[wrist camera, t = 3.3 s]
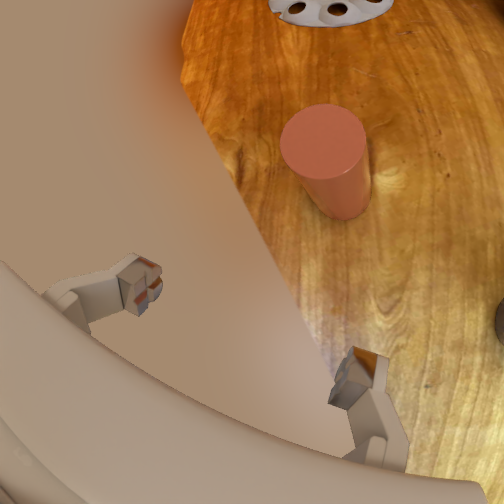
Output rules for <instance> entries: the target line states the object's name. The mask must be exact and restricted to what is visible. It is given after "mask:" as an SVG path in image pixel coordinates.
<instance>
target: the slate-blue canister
mask: <svg viewBox="0 0 504 504" xmlns="http://www.w3.org/2000/svg"><path fill="white" fill-rule="evenodd" d="M495 327H496V333H497V336H498V339H499V341H500V342H501V344H502V345H503V346H504V298H503V300H502V301H501V303H500V305H499V307H498V310H497V314H496V320H495Z"/></svg>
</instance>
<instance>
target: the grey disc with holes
mask: <svg viewBox="0 0 504 504" xmlns="http://www.w3.org/2000/svg"><path fill="white" fill-rule="evenodd" d="M393 2H394V0H382V2H380V3H371V2H368V1H366V0H269V1H268V4H269V7H270V9H271V10H272V12H273V13H276V12H280V13H282V14H281V16H279V18H280V19H282V20H283V21H285V22H288V23H291V24H294V25H299V26H308V27H340V26H347V25H353V24H356V23H360V22H364V21H367V20H370V19H373V18H375V17H377V16H379V15H382V14H383V13H385V12H386V11H387V10H388V9H390V7H391V6H392V4H393ZM295 3H305V4H306V7H305V9H304V10H303V11H302V12H300V13H298V14H289V13H288V10H289V8H290V6H292V5H293V4H295ZM336 4H344V5H346V6H347V7H348V11H347V12H346V13H345V14H344V15H342V16H334V15H331V14H330V13H328V11H327V9H328V7H329V6H331V5H336Z"/></svg>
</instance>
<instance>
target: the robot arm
mask: <svg viewBox="0 0 504 504" xmlns="http://www.w3.org/2000/svg"><path fill="white" fill-rule="evenodd" d="M161 274H162V269H161V267H160V266H159V265H157V264H155V263H153V262H151V261H149V260H147V259H145V258H143V257H141V256H139V255H137V254H135V253H129V254H128V255H127V256H125V257H124V258H123V259H122V260H120V261H119V262H118V263H116V264H115V265H114V266H113V267H111V268H110V269H109V270H108V271H105V270H102V271H98V272H93V273H89V274H85V275H80V276H76V277H72V278H67V279H63V280H59V281H58V282H57V283H55V284H54V285H53V286H52V287H50V288H49V289H48V290H47V291H45V292H44V293H43V294H42V295H39V294H38V293H37V292H36V291H34V289H32V288H31V287H30V286H29V285H28V284H27V283H26V282H25V281H23V279H22V278H20V277H19V276H18V275H17V274H16V273H15V272H14V271H13V270H12V269H11V268H10V267H9V266H8V265H7V264H6V263H5V262H3V261H0V504H489V503H488V500H487V498H486V496H485V493H484V491H483V489H482V487H481V485H480V484H479V483H478V482H475V481H467V480H454V479H444V478H435V477H428V476H421V475H414V474H408V473H405V468H406V463H407V457H408V451H409V445H410V443H409V441H408V438H407V436H406V433H405V431H404V429H403V426H402V424H401V422H400V419H399V417H398V415H397V412H396V410H395V408H394V405H393V403H392V401H391V399H390V396H389V394H386V393H385V391H386V384H387V376H388V368H389V358H387V357H384V356H381V355H378V354H376V353H373V352H370V351H367V350H364V349H361V348H358V347H355V346H352V347H351V348H350V350H349V351H348V355H347V357H346V358H344V359H343V361H342V362H341V364H340V366H339V368H338V371H337V373H336V376H335V383H336V384H335V385H334V387H333V388H332V390H331V393H330V397H329V400H328V404H331V405H333V406H336V407H339V408H342V409H344V410H347V415H348V419H349V422H350V426H351V430H352V434H353V439H354V443H355V447H356V449H354V450H353V451H351V452H350V453H348V454H347V455H345V456H344V457H342V458H338V457H335V456H331V455H328V454H325V453H322V452H319V451H315V450H312V449H309V448H306V447H303V446H300V445H298V444H295V443H292V442H289V441H286V440H284V439H281V438H278V437H276V436H273V435H271V434H268V433H266V432H263V431H260V430H258V429H256V428H254V427H251V426H249V425H247V424H244V423H242V422H240V421H237V420H235V419H233V418H231V417H229V416H227V415H224V414H222V413H220V412H218V411H216V410H214V409H212V408H210V407H208V406H206V405H204V404H202V403H200V402H198V401H196V400H194V399H192V398H190V397H188V396H186V395H185V394H183V393H181V392H179V391H177V390H175V389H174V388H172V387H170V386H168V385H167V384H165V383H163V382H161V381H160V380H158V379H156V378H154V377H153V376H151V375H149V374H148V373H146V372H144V371H143V370H141V369H139V368H138V367H136V366H135V365H133V364H132V363H130V362H129V361H127V360H126V359H124V358H122V357H121V356H119V355H118V354H116V353H115V352H113V351H112V350H110V349H109V348H108V347H106V346H105V345H103V344H102V343H100V342H99V341H98V340H96V339H95V338H93V337H92V336H91V331H90V329H89V326H88V323H91V322H93V321H96V320H98V319H101V318H103V317H106V316H109V315H111V314H114V313H117V312H119V311H122V310H123V309H125V310H127V311H129V312H131V313H132V314H134V315H136V316H138V317H139V316H140V315H141V314H142V313H143V312H144V311H145V310H146V309H147V308H148V303H149V302H153V301H155V300H156V299H157V298H158V297H159V295H160V293H161V291H162V286H163V283H162V280H161V278H160V275H161Z"/></svg>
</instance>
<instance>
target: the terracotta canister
mask: <svg viewBox="0 0 504 504" xmlns="http://www.w3.org/2000/svg"><path fill="white" fill-rule="evenodd" d="M280 150H281V154H282V157H283V159H284V161H285V162H286V164H287V165H288V167H289V168H290V169H291V171H292V172H293V174H294V175H295V176H296V178H297V179H298V181H299V182H300V183H301V185H302V186H303V188H304V189H305V190H306V192H307V193H308V195H309V196H310V198H311V199H312V200H313V202H314V203H315V205H316V206H317V208H318V209H319V210H320V211H321V212H322V213H323V214H324V215H325V216H327V217H329V218H332V219H335V220H349V219H352V218H355V217H357V216H358V215H360V214H361V213H362V212H363V211H364V210H365V209H366V208H367V206H368V204H369V202H370V200H371V194H372V189H371V177H370V167H369V158H368V149H367V141H366V134H365V130H364V127H363V125H362V123H361V122H360V120H359V119H358V118H357V117H356V116H355V115H354V114H353V113H352V112H350V111H349V110H347V109H345V108H343V107H340V106H337V105H332V104H318V105H313V106H310V107H307V108H305V109H303V110H301V111H299V112H298V113H296V114H295V115H294V116H293V117H292V118H291V119H290V120H289V121H288V122H287V124H286V125H285V127H284V129H283V131H282V134H281V138H280Z"/></svg>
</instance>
